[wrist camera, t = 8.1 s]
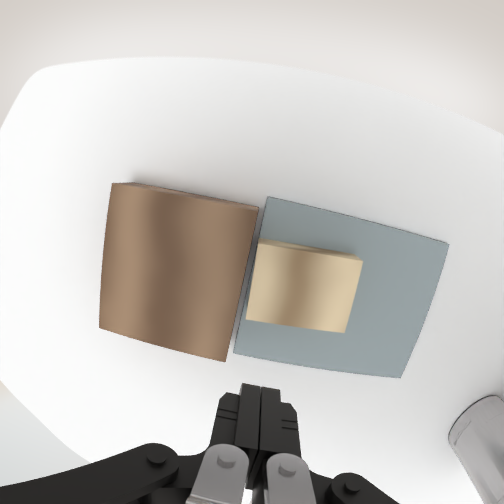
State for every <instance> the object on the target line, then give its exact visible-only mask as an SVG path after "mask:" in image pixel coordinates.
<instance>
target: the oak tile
mask: <svg viewBox="0 0 504 504" xmlns="http://www.w3.org/2000/svg"><path fill="white" fill-rule="evenodd" d="M362 264H363V261H362V260H361V259H360V258H359V257H357V256H356V255H355V254H351V253H345V252H339V251H334V250H328V249H322V248H316V247H310V246H305V245H299V244H293V243H287V242H281V241H275V240H269V239H263V238H259V240H258V246H257V252H256V258H255V264H254V270H253V276H252V282H251V288H250V294H249V300H248V306H247V312H246V319H247V320H253V321H259V322H265V323H272V324H279V325H286V326H293V327H300V328H307V329H315V330H323V331H331V332H339V333H345V330H346V326H347V323H348V319H349V315H350V312H351V308H352V304H353V301H354V297H355V293H356V289H357V285H358V281H359V277H360V273H361V269H362Z"/></svg>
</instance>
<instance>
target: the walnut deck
mask: <svg viewBox="0 0 504 504" xmlns="http://www.w3.org/2000/svg"><path fill="white" fill-rule="evenodd" d="M258 210H259V207H255V206H250V205H246V204H241V203H236V202H231V201H227V200H222V199H217V198H212V197H207V196H202V195H197V194H192V193H187V192H181V191H176V190H171V189H166V188H160V187H155V186H149V185H144V184H138V183H112V187H111V193H110V200H109V207H108V214H107V222H106V231H105V240H104V250H103V261H102V274H101V290H100V314H99V328H101V329H104V330H107V331H111V332H114V333H117V334H120V335H123V336H127V337H130V338H133V339H137V340H140V341H143V342H147V343H150V344H154V345H158V346H161V347H165V348H169V349H172V350H176V351H180V352H184V353H188V354H192V355H196V356H200V357H204V358H209V359H213V360H217V361H222V362H226V357H227V353H228V348H229V344H230V339H231V334H232V330H233V325H234V321H235V316H236V311H237V307H238V302H239V298H240V293H241V288H242V284H243V279H244V274H245V270H246V265H247V261H248V256H249V251H250V247H251V242H252V238H253V233H254V229H255V224H256V219H257V215H258Z"/></svg>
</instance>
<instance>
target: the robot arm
mask: <svg viewBox="0 0 504 504" xmlns="http://www.w3.org/2000/svg"><path fill="white" fill-rule="evenodd" d="M297 422H298V421H297V412H296V411H295V409H294V408H293V407H292V405H291V404H290V403H283V402H281V399H280V390H279V389H273V388H267V387H261V389H260V386H255V385H250V384H245V383H242V385H241V389H240V393H239V395H237V394H232V393H228V392H226V393H225V394H224V395H223V396H222V397H221V398H220V400H219V404H218V409H217V413H216V418H215V422H214V426H213V431H212V435H211V440H210V444H209V446H208V448H207V449H206V450H205V451H203V452H202V453H200V454H197V455H191V456H178V455H177V453H176V452H175V451H174V450H173V449H171V448H170V447H168V446H166V445H163V444H158V443H148V444H144V445H141V446H139V447H136V448H134V449H131V450H128V451H126V452H123V453H120V454H117V455H115V456H112V457H109V458H106V459H103V460H100V461H97V462H94V463H91V464H88V465H85V466H81V467H78V468H75V469H72V470H69V471H65V472H61V473H58V474H54V475H50V476H46V477H42V478H38V479H34V480H30V481H26V482H21V483H17V484H13V485H7V486H2V487H0V504H241V502H242V497H243V492H244V487H245V489H250V490H253V492H252V499H251V501H250V504H399V503H398V502H396V501H395V500H393V499H392V498H391V497H389V496H388V495H386V494H385V493H384V492H382V491H381V490H380V489H378V488H377V487H376V486H374V485H373V484H372V483H370V482H369V481H368V480H366V479H365V478H363V477H362V476H360V475H358V474H354V473H342V474H339V475H337V476H336V477H335V478H334V479H331V478H328V477H324V476H321V475H318V474H316V473H314V472H312V471H310V470H309V468H308V465H307V464H306V462H305V461H304V460H303V459H302V458H301V450H300V440H299V431H298V423H297ZM449 443H450V445H451V447H452V448H453V450H454V452H455V453H456V455H457V457H458V458H459V460H460V462H461V464H462V465H463V467H464V469H465V470H466V472H467V474H468V476H469V477H470V479H471V481H472V483H473V484H474V486H475V488H476V490H477V491H478V493H479V495H480V497H481V499H482V501H483V502H484V504H504V402H503V401H502V400H501V399H500V398H499V397H497V396H490V397H486V398H484V399H482V400H480V401H478V402H477V403H475V404H474V405H472V406H471V407H470V408H468V409H467V410H466V411H465V412H464V413H463V414H462V415H461V416H460V418H459V419H458V420H457V421H456V423H455V424H454V426H453V428H452V429H451V432H450V435H449ZM245 483H246V485H245Z"/></svg>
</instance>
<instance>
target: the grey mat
mask: <svg viewBox="0 0 504 504" xmlns="http://www.w3.org/2000/svg"><path fill="white" fill-rule="evenodd" d="M259 238H263V239H269V240H275V241H281V242H287V243H293V244H299V245H305V246H310V247H316V248H322V249H328V250H334V251H339V252H345V253H351V254H355V255H356V256H357V257H359V258H360V259H361V260H362V261H363V264H362V269H361V273H360V277H359V281H358V285H357V289H356V293H355V297H354V301H353V304H352V308H351V312H350V315H349V319H348V323H347V326H346V330H345V333H339V332H331V331H323V330H315V329H307V328H300V327H293V326H286V325H279V324H272V323H265V322H259V321H253V320H247V319H246V312H247V306H248V300H249V294H250V288H251V282H252V276H253V270H254V264H255V258H256V253H255V257H254V262H253V266H252V271H251V275H250V280H249V284H248V289H247V293H246V298H245V302H244V306H243V311H242V315H241V320H240V324H239V329H238V333H237V338H236V342H235V347H234V351H233V353H235V354H240V355H244V356H249V357H254V358H259V359H265V360H270V361H275V362H281V363H287V364H293V365H299V366H305V367H311V368H318V369H325V370H332V371H339V372H347V373H355V374H363V375H372V376H382V377H393V378H401V376H402V374H403V371H404V369H405V367H406V365H407V363H408V360H409V358H410V356H411V353H412V351H413V349H414V346H415V344H416V342H417V339H418V337H419V334H420V332H421V329H422V327H423V324H424V321H425V319H426V316H427V313H428V311H429V308H430V305H431V302H432V299H433V296H434V294H435V291H436V288H437V284H438V281H439V278H440V275H441V272H442V269H443V265H444V262H445V258H446V255H447V251H448V248H449V244H447V243H444V242H440V241H437V240H434V239H430V238H427V237H424V236H420V235H417V234H413V233H410V232H406V231H403V230H399V229H396V228H392V227H388V226H385V225H381V224H377V223H374V222H370V221H366V220H362V219H359V218H355V217H351V216H347V215H343V214H339V213H335V212H331V211H327V210H323V209H319V208H315V207H311V206H307V205H302V204H298V203H294V202H289V201H285V200H281V199H276V198H272V197H268V198H267V203H266V207H265V212H264V216H263V221H262V226H261V230H260V235H259ZM258 240H259V239H258ZM257 246H258V244H257ZM256 252H257V248H256Z"/></svg>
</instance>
